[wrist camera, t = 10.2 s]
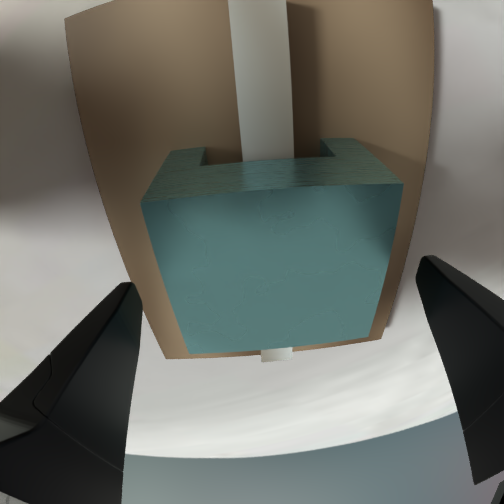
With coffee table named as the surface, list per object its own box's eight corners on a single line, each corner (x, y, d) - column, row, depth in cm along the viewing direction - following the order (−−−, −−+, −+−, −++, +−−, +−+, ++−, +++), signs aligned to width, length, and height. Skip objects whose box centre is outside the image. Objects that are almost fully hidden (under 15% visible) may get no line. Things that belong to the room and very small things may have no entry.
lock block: (197, 280, 14) (189, 354, 11) (170, 150, 10) (139, 202, 7) (342, 268, 14) (367, 337, 11) (353, 137, 10) (403, 183, 7)
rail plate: (168, 345, 18) (163, 375, 17) (76, 19, 8) (46, 18, 6) (376, 326, 18) (386, 354, 16) (419, -1, 8) (450, -5, 6)
